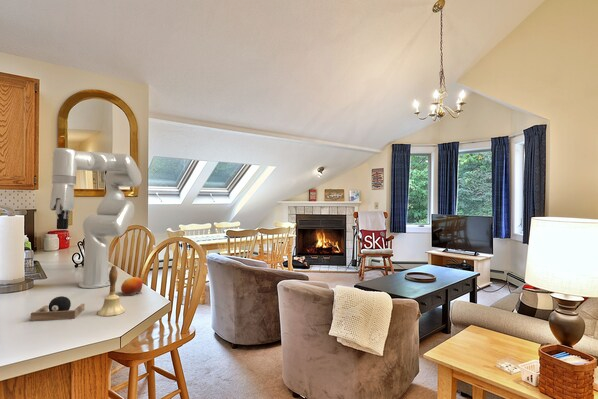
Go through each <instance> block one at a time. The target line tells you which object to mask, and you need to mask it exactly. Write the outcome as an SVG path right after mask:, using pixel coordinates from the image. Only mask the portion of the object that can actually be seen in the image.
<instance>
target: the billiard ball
mask: <svg viewBox="0 0 598 399" xmlns="http://www.w3.org/2000/svg"><path fill="white" fill-rule="evenodd" d="M71 306H72V302H71V300H70V299H69V298H68V297H67V296H61V295H59V296H56V297H54V298H53V299H51V300H50V302H49V304H48V311H68V310H70V308H71Z"/></svg>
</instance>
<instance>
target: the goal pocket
mask: <svg viewBox="0 0 598 399" xmlns="http://www.w3.org/2000/svg"><path fill="white" fill-rule="evenodd" d="M85 306H86V304H85V303H80V305H78V306H77V307H76V308H75V309H73V310H70V309H69V310H68V311H49V309H48V307H49V304H48V305H43V306H41V307H40V308H38V309H37V310H36V311H31V313H30V322H40V321H41V322H42V321H44V322H45V321H57V320H61V321H62V320H75V318H77V317H78V316H79V315H80V314H81V313H82V312H83V311H84V310H85Z"/></svg>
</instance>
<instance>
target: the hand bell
mask: <svg viewBox="0 0 598 399" xmlns="http://www.w3.org/2000/svg"><path fill="white" fill-rule="evenodd" d="M117 279H118V269H117V266H116V265H111V267H110V270H109V272H108V280H109V281H110V285H109V294H108V295H106V296H105V297H104V300H103V305H102V306H101V309H100V310H99V311H98V312H97V315H98V316H100V317H112V316H113V317H114V316H118V315H121V314H124V313H125V312H126V309H125V308H124V307H123V306H122V304H121V302H120V301H121V300H120V296H119V295H118V294H116V284H117Z"/></svg>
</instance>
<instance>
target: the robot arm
mask: <svg viewBox="0 0 598 399" xmlns="http://www.w3.org/2000/svg"><path fill="white" fill-rule="evenodd" d="M52 153H53V156H52V172H51V173H52V174H51V177H52V178H51V184H52V187H51V191H50V192H51V194H50V201H49V202H50V203H49V209H50V210H51V211H55V214H56V230H68V229H69V215H70V213H71V211H72V210H73V209H74V205H75V189H74V188H75V187H74V186H77V171H88V172H106V173H105V175H104V183H105V190H106V194H105V195H104V196H103V198H102V200H101V201H100V203H99V204H98V206H97V208H96V214H93V215H88V216H87V217H85V218H84V220H83V223H82V229H83V230H82V231H83V238H84V252H83V253H84V256H83V257H84V258H83V279H82V280H83V281H80V282H79V283H78V286H79V288H82V289H96V288H97V289H98V288H104V287H107V286H110V281H109V255H110V244H109V242H108V240H107V238H106V237H115V238H116V237H121V236H124V234H125V233H126V231H127V230H128V227H129V225H130V223H131V222H132V219H133V218H134V215H135V205H134V203H133V202H132V201H131V200H128V199H125V198H126V197H125V193H124V192H123V191H122V190H121V189H120V187H122V188H136V187H139V186H140V185H141V183H142V181H143V180H142V179H143V178H142V173H141V171H140V169H139V167H138V166H137V163H136V161H135V159H134V158H133V157H132V156H131V155H130V154H128V153H114V152H113V153H110V152H100V151H83V150H81V151H80V150H75V149H73V148H66V147H57V148H54V149H53V152H52Z"/></svg>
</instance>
